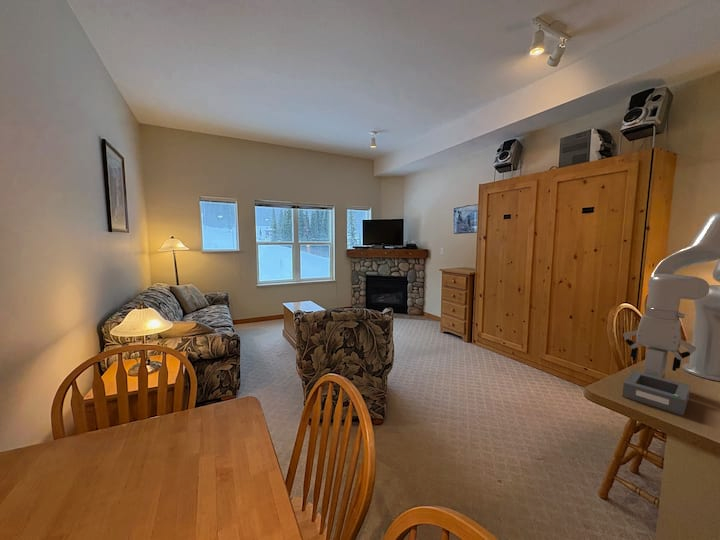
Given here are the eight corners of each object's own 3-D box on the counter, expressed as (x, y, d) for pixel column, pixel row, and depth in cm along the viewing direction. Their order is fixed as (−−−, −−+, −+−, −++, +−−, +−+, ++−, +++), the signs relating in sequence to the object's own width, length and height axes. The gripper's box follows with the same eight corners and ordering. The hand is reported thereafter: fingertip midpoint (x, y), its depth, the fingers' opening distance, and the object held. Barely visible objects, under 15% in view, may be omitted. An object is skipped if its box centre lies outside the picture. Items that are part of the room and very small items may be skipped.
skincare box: (659, 388, 99) (663, 352, 98) (641, 383, 103) (645, 348, 101) (664, 383, 103) (669, 348, 101) (647, 378, 106) (651, 344, 105)
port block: (631, 383, 103) (633, 369, 102) (688, 399, 93) (690, 384, 92) (622, 396, 95) (623, 381, 94) (683, 416, 85) (685, 399, 84)
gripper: (701, 318, 95) (693, 371, 98) (629, 307, 109) (622, 353, 111) (699, 322, 91) (690, 377, 93) (623, 310, 104) (617, 358, 106)
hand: (653, 364), depth 102 cm, fingers open, 9 cm apart
